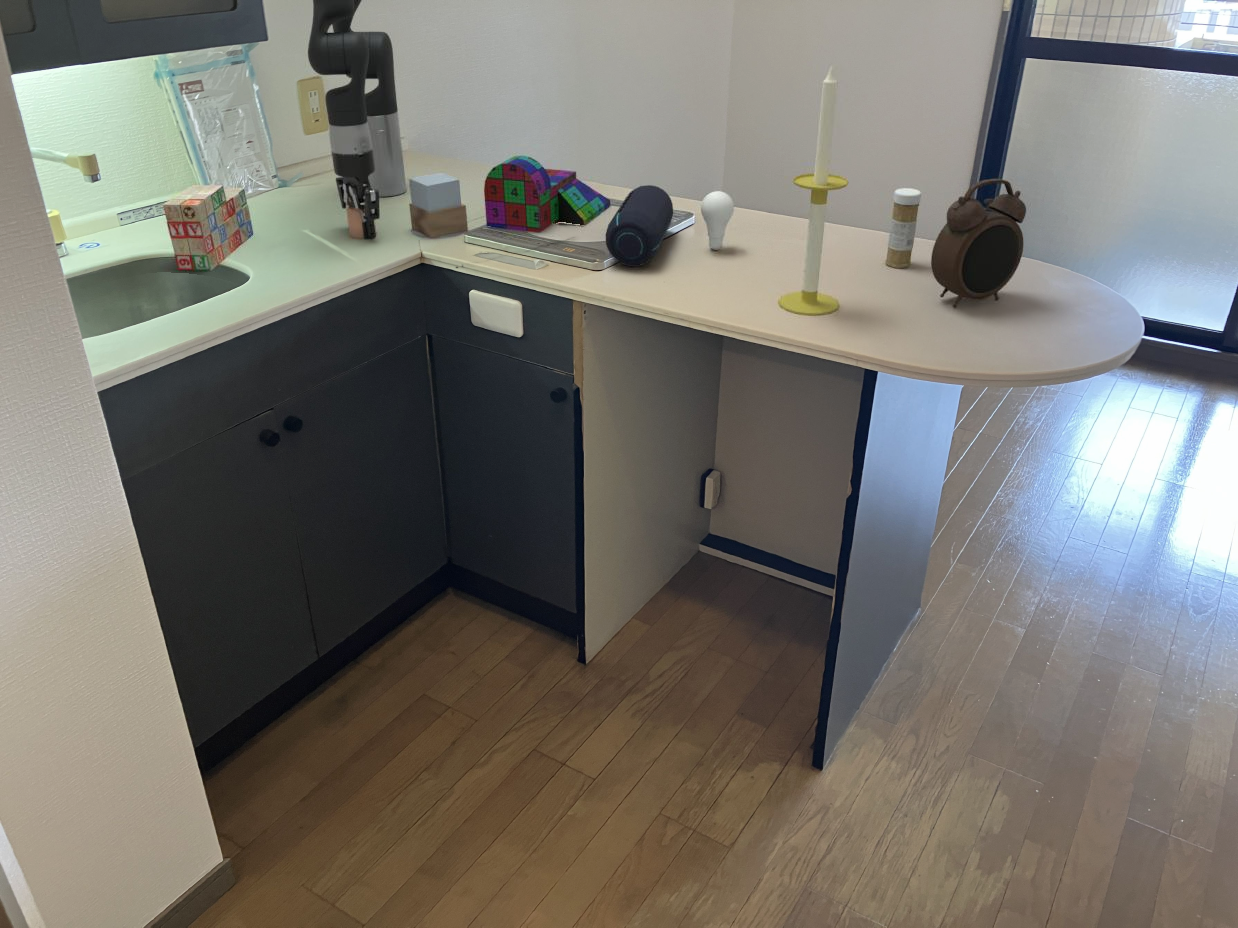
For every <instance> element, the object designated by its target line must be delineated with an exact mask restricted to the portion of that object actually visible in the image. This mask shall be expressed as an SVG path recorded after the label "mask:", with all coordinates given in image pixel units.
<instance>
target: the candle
mask: <svg viewBox="0 0 1238 928" xmlns="http://www.w3.org/2000/svg"><path fill="white" fill-rule="evenodd" d="M830 65H831V67H830V68H829V70H828V72H827V75H826V77H825V79H824V80H823V81H822V89H821V97H820V98H821V99H820V100H821V101H820V110H819V119H818V120H819V121H818V130H817V132H818V133H817V139H816V141H817V143H816V150H815V151H816V153H815V161H814V162H815V163H814V164H815V165H814V172H813V173H805V174H799V175H796V176H794V178H792V182H793V184H794V185H795V186H797V187H799V188H801V189H802V188H803V189H806V190H811V192H810V202H809V213H808V214H809V215H808V226H807V236H806V246H805V256H804V257H805V258H804V269H803V277H802V291H794V292H788V293H786V294H784V295H782V296H780V298H779V299H778V301H777V302H778V305H779V307H780V308H782V309H783V310H785V311H787V312H790V313H793V314H797V315H802V316H803V315H804V316H822V315H823V316H824V315H830V314H832V313H834V312H836V311H838V310H839V308H840V303H839V301H838V299H837V298H836V297H833V296H831V295H829V294H825V293H822V292H818V291H819V282H820V281H819V280H820V271H821V263H822V262H821V261H822V251H823V244H824V243H823V242H824V231H825V221H826V211H827V203H828V192H829V191H836V190H841V189H843V188H846V187H847V186H848V184H849V180H848V179H847V178H846V177H843V176H840V175H836V174H829V170H830V159H831V152H832V151H831V150H832V141H833V132H834V131H833V130H834V121H835V112H836V111H835V110H836V101H837V92H838V91H837V90H838V81H837V79H836V77H835V72H834V67H833V63H831V64H830Z"/></svg>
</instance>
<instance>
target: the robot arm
mask: <svg viewBox="0 0 1238 928" xmlns="http://www.w3.org/2000/svg"><path fill="white" fill-rule="evenodd" d="M362 1H363V0H312V4H313V6H312V7H313V11H312V12H313V14H312V25H311V30H310V35H309V40H308V47H307V57H308V62H309V64H310V66H311V68H312V70H313V71H314V72H315V73H317V74H318V75H320V76H335V75H337V76H339V75H341V76H342V75H345V76H346V77H348V78H349V79H350V82H348V83H347V84H344V85H343V86H339V87H335V88H334V87H333V88H331V89H329V90H328V91H326V93H325V98H324V99H325V100H324V101H325V106H326V113H327V114H326V115H327V119H328V120H327V121H328V130H329V131H328V133H329V134H328V136H329V144H330V150H331V152H330V153H331V157H332V163H333V170H334V171H333V172H334V174H335V175H336V176H338V177H335V182H336V187H337V191H338V196H339V200H340V205H341V208H342V209H343V210H346V209H347V208H349V207H351V206H355V207H356V210H358V211H359V212H360V216H361V219H362V227H363V235H364V238H363V239H364V240H368V239H370V240H371V239H374V238H377V234H376V233H375V225H374V220H375V221H376V220H379V219H380V197H381V198H382V197H393V196H399V195H401V194H402V195H403V193H405V192H406V191H407V183H406V175H405V174H406V172H405V164H404V154H403V145H402V137H401V135H402V134H401V127H400V119H399V111H398V109H399V108H398V102H397V91H396V83H395V63H394V52H393V51H394V50H393V45H392V40H391V38H390V36H389V34H388V33H387V32H384V31H354V30H352V27H351V25H352V22H353V19H354V17H355V14H356V12H357V10H358V8H359V6H360V4H361V3H362ZM331 26H332V30H333V32H329V29H330V27H331ZM366 80H378V85H377V86H376V87H375V88H374V89H372V90H371V91H368V92H366V91H365V90H366ZM364 209H365V213H364ZM373 209H374V210H373Z"/></svg>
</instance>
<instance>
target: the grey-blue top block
mask: <svg viewBox="0 0 1238 928" xmlns="http://www.w3.org/2000/svg"><path fill="white" fill-rule="evenodd" d="M408 182H409V191H410V200H411V203H412V204H413V205H415V206H417V207H419V208H421V209H424V210H426V211H428V212H433V211H438V210H443V209H447V208H452V207H457V206H461V204H462V197H461V186H460V179H459V178H455V177H454V176H450V175H448V174H446V173H442V172H436V173H430V174H426V175H420V176H416V177H410V178H408Z"/></svg>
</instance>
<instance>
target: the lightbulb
mask: <svg viewBox="0 0 1238 928" xmlns="http://www.w3.org/2000/svg"><path fill="white" fill-rule="evenodd" d="M734 211H735V204H734V201H733V199H732V198H731V196H730V195H729V194H728V193H726V192H724V191H719V190H715V191H712V192H710V193H708V194H707V195H706V196H705V197H704V198H703V199H702V201H701V204H700V213H701V216H702V217H703V220H704V223H705V224H706V228H707V236H708V247H709V248H711V249H712V250H714V251H717V250H719V249H721V248H722V247H723V242H724V237H725V233H726V228H727V226H728V223H729V222H730V220H731V218H732V217H733V214H734Z"/></svg>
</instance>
